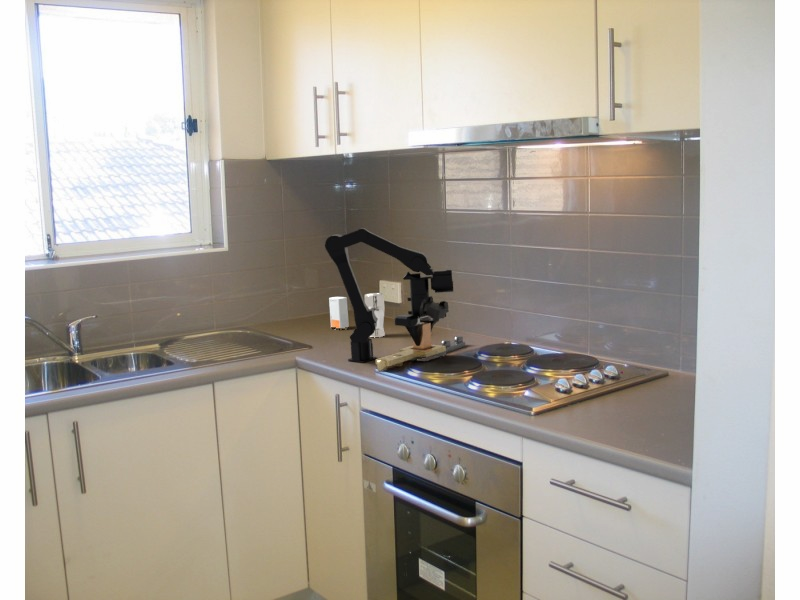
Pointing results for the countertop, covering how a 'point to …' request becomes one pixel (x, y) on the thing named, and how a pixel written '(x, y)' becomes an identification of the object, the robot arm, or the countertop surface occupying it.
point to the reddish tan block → (424, 337)
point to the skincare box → (338, 312)
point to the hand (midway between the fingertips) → (422, 344)
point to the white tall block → (376, 311)
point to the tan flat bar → (419, 353)
